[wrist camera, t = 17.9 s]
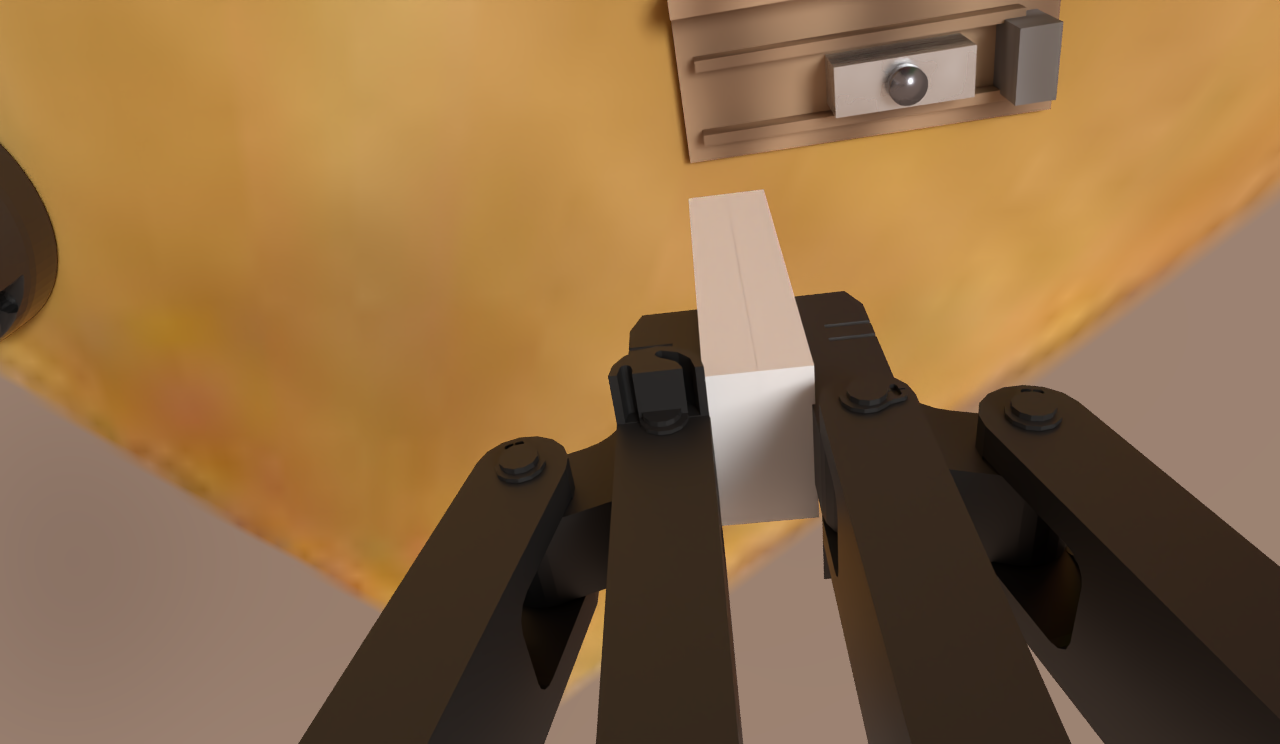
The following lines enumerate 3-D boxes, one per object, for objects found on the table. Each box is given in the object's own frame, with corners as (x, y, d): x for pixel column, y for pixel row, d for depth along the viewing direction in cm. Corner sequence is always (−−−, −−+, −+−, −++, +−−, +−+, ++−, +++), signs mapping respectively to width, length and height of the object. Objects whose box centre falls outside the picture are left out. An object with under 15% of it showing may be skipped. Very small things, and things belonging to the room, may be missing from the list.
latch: (827, 103, 40) (838, 123, 37) (824, 54, 39) (837, 72, 36) (957, 82, 39) (980, 102, 37) (959, 32, 38) (982, 48, 36)
